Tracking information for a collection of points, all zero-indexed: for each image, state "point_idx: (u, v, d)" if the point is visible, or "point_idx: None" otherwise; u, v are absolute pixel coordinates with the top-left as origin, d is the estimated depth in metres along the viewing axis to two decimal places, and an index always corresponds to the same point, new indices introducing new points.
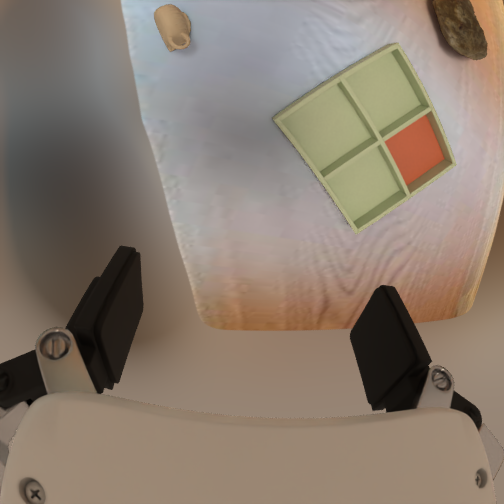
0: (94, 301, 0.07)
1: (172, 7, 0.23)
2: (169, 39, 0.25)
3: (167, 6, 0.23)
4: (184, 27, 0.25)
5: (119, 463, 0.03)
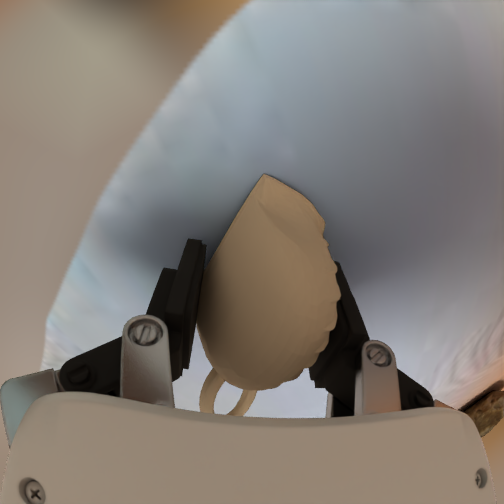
0: (179, 288, 0.08)
1: (330, 330, 0.08)
2: (212, 389, 0.09)
3: (328, 318, 0.08)
4: None
5: (119, 463, 0.03)
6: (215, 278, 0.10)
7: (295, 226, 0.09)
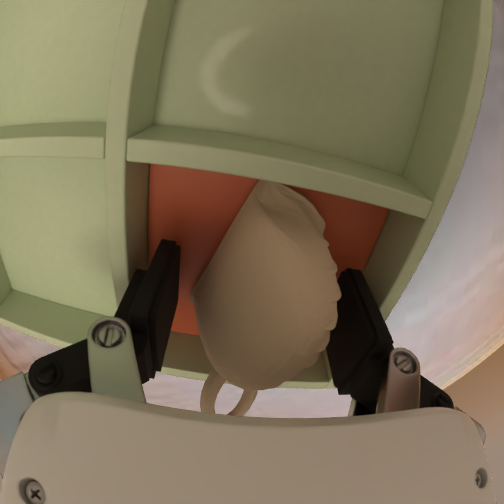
0: (146, 290, 0.08)
1: None
2: (213, 388, 0.09)
3: (329, 318, 0.08)
4: None
5: (119, 463, 0.03)
6: (215, 278, 0.10)
7: (295, 226, 0.09)
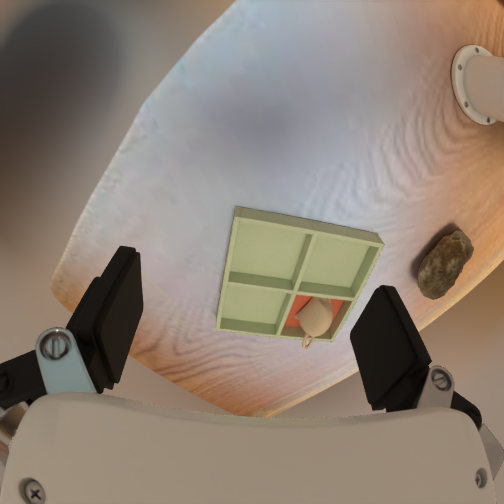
0: (94, 301, 0.07)
1: None
2: (306, 337, 0.44)
3: (331, 320, 0.42)
4: None
5: (119, 463, 0.03)
6: (307, 312, 0.45)
7: (324, 303, 0.43)
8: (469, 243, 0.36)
